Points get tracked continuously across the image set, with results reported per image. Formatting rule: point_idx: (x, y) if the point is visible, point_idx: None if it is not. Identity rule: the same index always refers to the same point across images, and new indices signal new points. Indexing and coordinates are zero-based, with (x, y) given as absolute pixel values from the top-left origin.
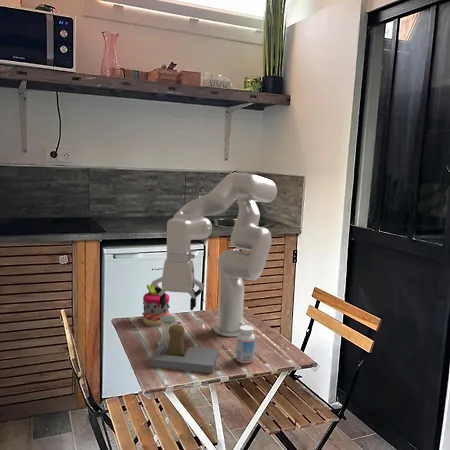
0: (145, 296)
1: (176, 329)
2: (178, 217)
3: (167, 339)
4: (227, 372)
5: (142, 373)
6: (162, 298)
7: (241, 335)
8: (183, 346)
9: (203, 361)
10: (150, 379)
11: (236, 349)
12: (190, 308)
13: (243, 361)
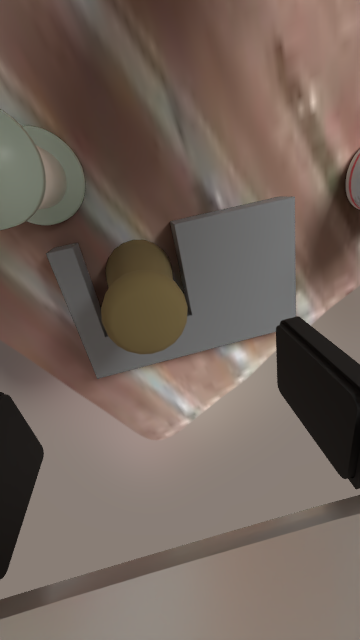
0: None
1: (161, 350)
2: None
3: (49, 205)
4: (322, 291)
5: (105, 402)
6: (2, 566)
7: None
8: (171, 278)
9: (262, 314)
10: (143, 414)
11: None
12: (287, 398)
13: None
